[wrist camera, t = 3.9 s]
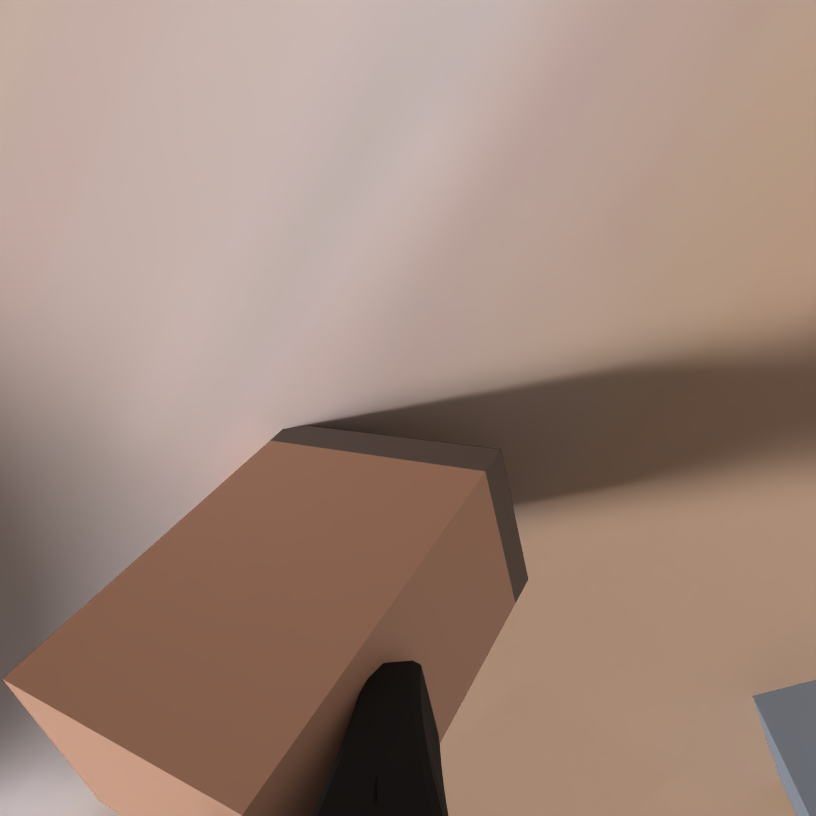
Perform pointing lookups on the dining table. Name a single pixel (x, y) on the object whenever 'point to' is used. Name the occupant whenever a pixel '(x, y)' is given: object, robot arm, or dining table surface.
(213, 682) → the tan cuboid
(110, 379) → the dining table surface
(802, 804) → the slate block
